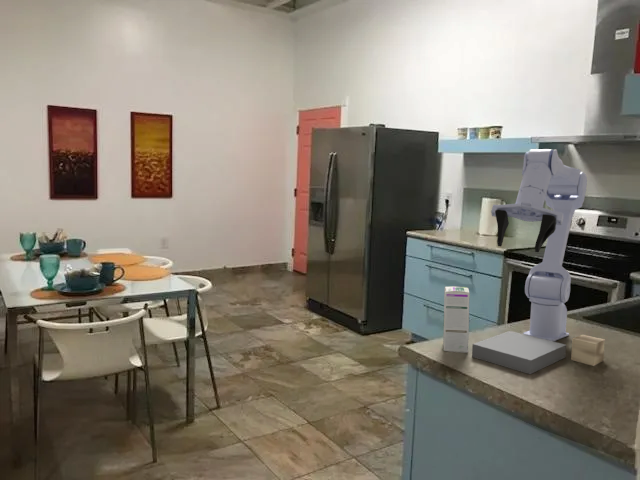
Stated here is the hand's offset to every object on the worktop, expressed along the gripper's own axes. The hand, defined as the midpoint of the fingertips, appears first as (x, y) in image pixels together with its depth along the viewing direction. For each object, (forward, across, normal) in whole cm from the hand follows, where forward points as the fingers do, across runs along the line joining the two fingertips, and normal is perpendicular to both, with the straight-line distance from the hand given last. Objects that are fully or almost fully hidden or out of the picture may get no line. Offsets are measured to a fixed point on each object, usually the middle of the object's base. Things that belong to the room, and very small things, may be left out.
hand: (517, 246), depth 116 cm
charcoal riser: (+16, +2, +21) cm, 27 cm away
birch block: (+12, +16, +25) cm, 32 cm away
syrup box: (+18, -12, +21) cm, 30 cm away
